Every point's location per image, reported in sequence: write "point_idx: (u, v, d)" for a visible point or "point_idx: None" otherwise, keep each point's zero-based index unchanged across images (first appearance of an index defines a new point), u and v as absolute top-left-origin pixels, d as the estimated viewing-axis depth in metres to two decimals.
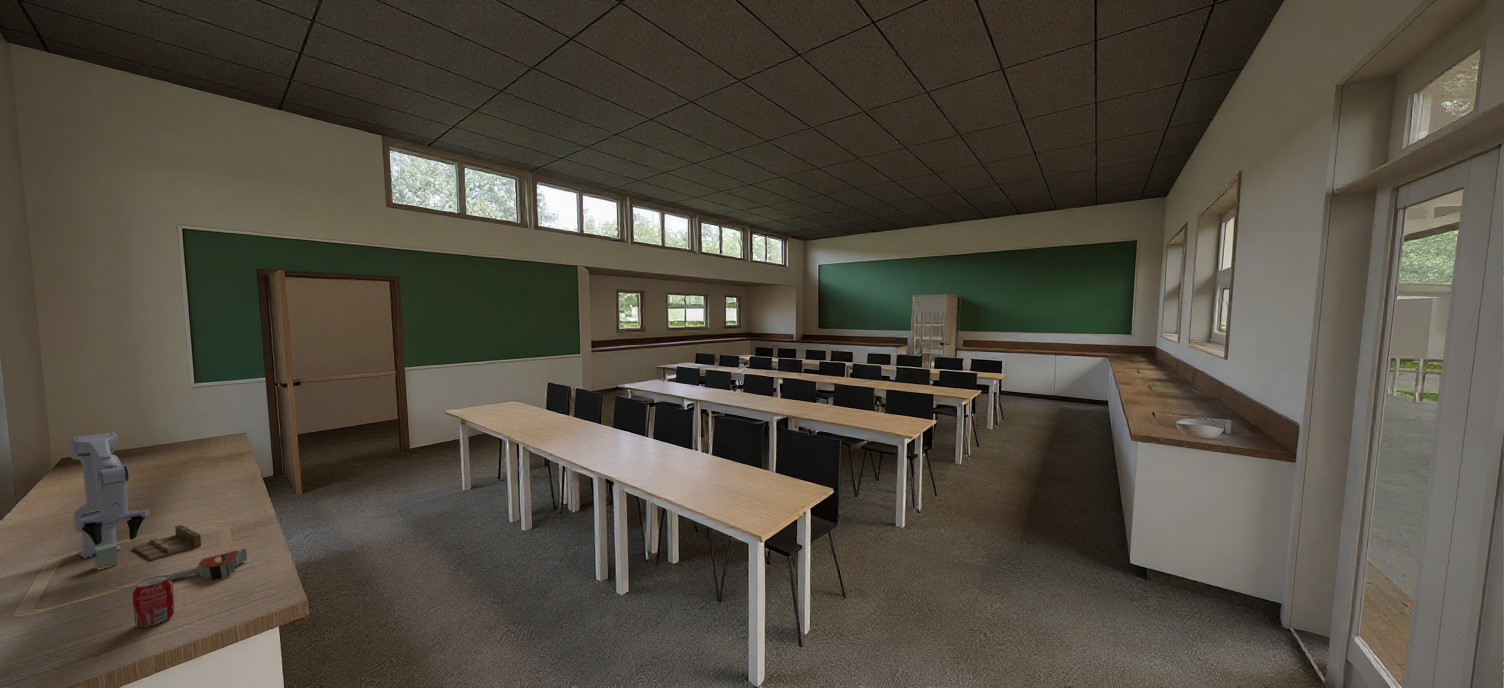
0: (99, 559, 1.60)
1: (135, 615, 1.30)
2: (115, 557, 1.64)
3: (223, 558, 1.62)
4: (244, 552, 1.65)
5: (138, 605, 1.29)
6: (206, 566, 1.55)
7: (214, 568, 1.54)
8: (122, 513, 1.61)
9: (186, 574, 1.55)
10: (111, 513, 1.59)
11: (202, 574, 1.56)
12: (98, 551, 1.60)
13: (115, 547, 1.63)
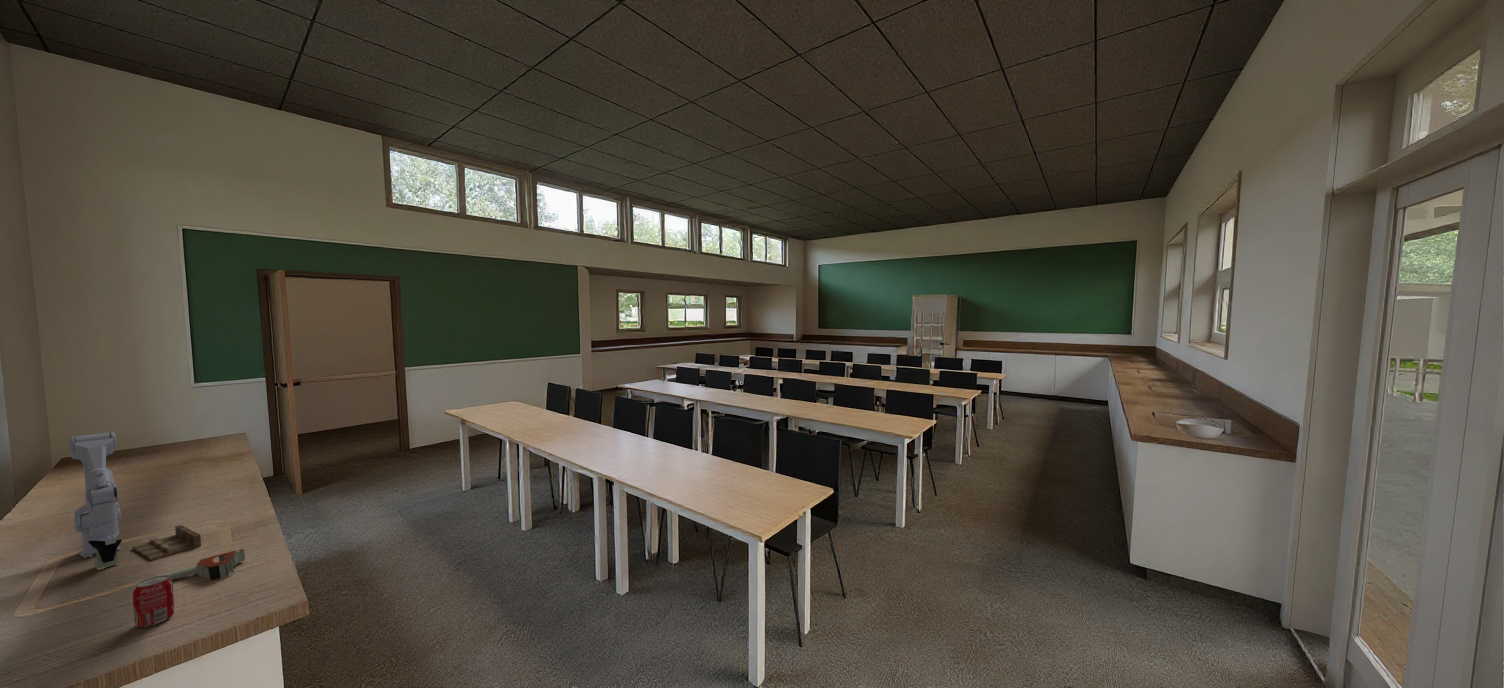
0: (99, 559, 1.60)
1: (135, 615, 1.30)
2: (115, 557, 1.64)
3: (221, 558, 1.62)
4: (242, 552, 1.65)
5: (138, 605, 1.29)
6: (204, 566, 1.55)
7: (213, 568, 1.54)
8: (98, 536, 1.60)
9: (184, 575, 1.55)
10: (90, 533, 1.60)
11: (200, 574, 1.56)
12: None
13: None
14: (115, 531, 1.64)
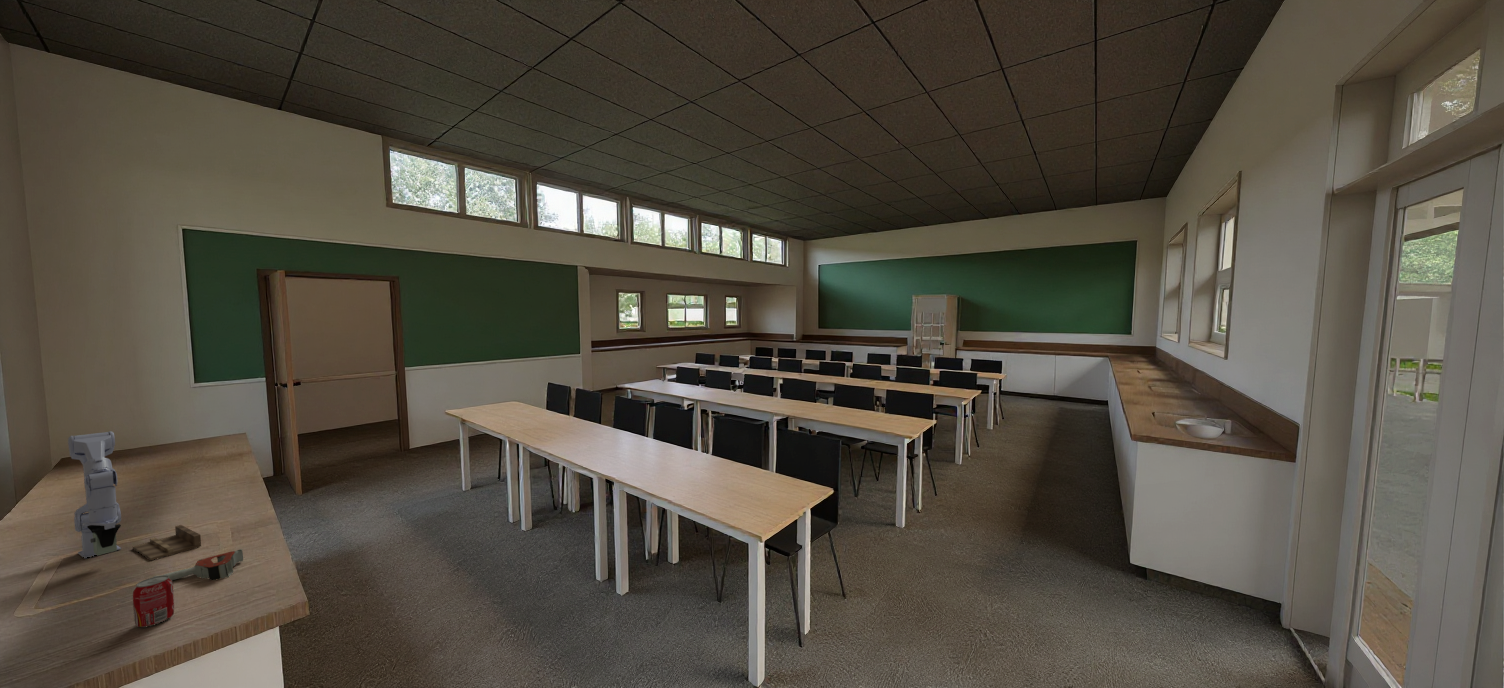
0: (98, 544, 1.60)
1: (135, 615, 1.30)
2: (114, 542, 1.63)
3: (219, 559, 1.62)
4: (240, 552, 1.65)
5: (138, 605, 1.29)
6: (204, 567, 1.55)
7: (213, 568, 1.54)
8: (97, 520, 1.60)
9: (182, 575, 1.55)
10: (89, 518, 1.60)
11: (199, 575, 1.56)
12: None
13: None
14: (114, 516, 1.63)
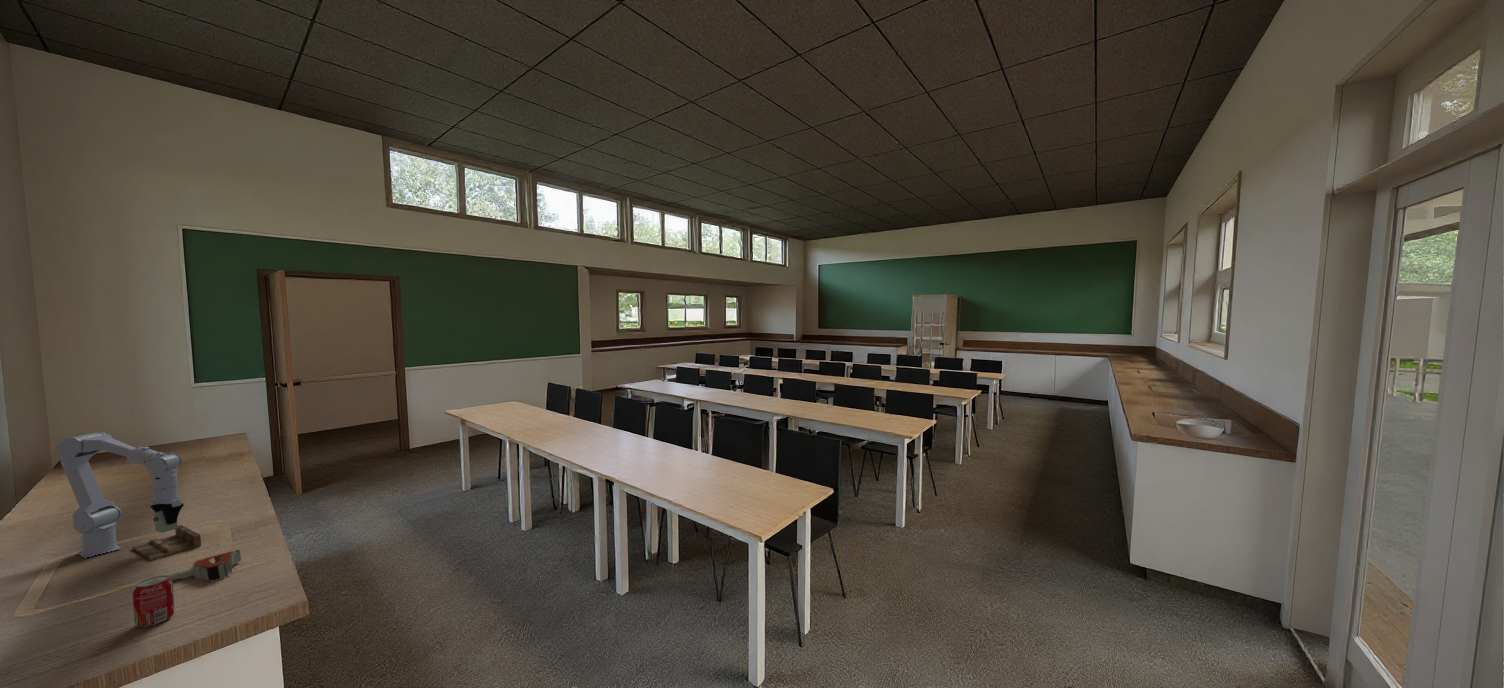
0: (162, 522, 1.74)
1: (135, 615, 1.30)
2: None
3: (217, 559, 1.61)
4: (238, 553, 1.65)
5: (138, 605, 1.29)
6: (202, 567, 1.55)
7: (212, 568, 1.54)
8: (163, 499, 1.74)
9: (180, 576, 1.54)
10: (155, 497, 1.73)
11: (197, 576, 1.56)
12: (161, 515, 1.74)
13: None
14: (177, 496, 1.77)
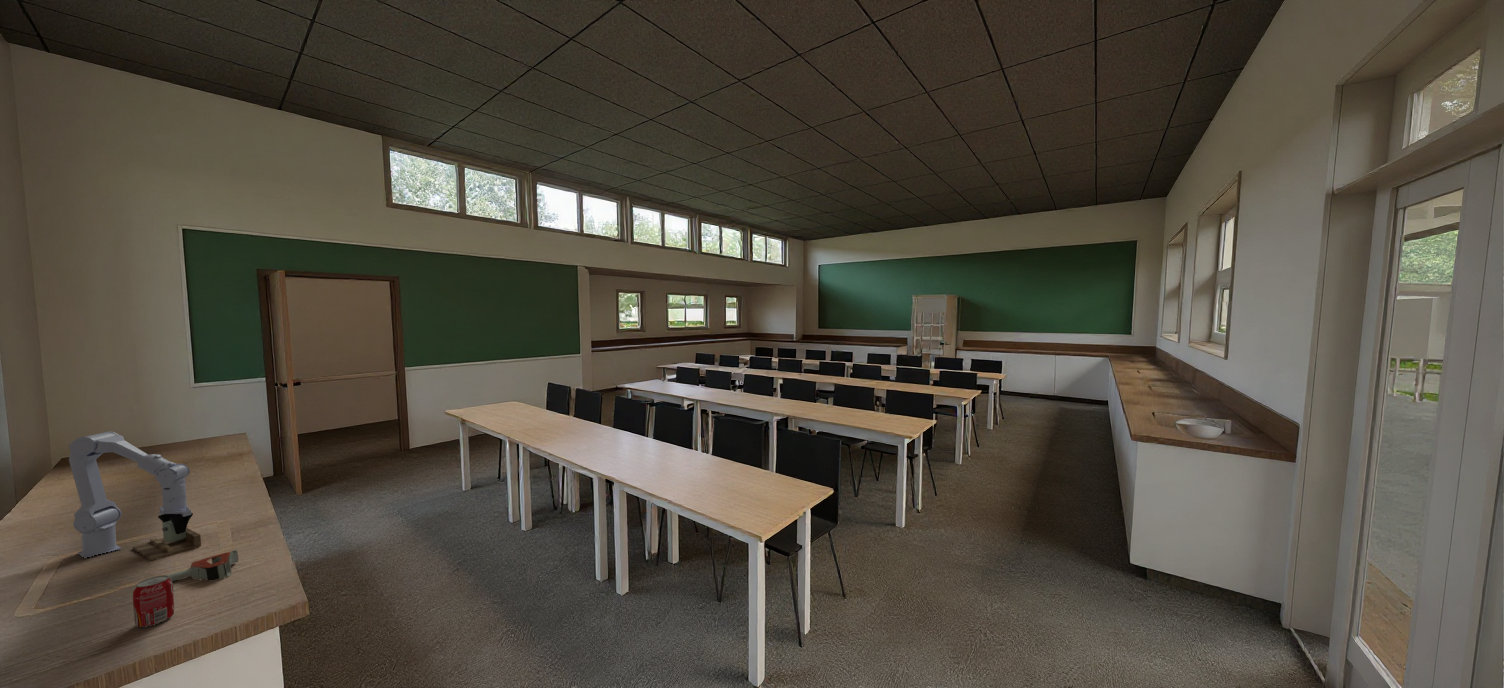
0: (171, 532, 1.76)
1: (135, 615, 1.30)
2: None
3: (214, 560, 1.61)
4: (236, 553, 1.65)
5: (138, 605, 1.29)
6: (201, 568, 1.54)
7: (211, 569, 1.54)
8: (173, 509, 1.76)
9: (177, 577, 1.54)
10: (164, 507, 1.75)
11: (195, 576, 1.55)
12: (170, 525, 1.76)
13: None
14: (185, 505, 1.80)
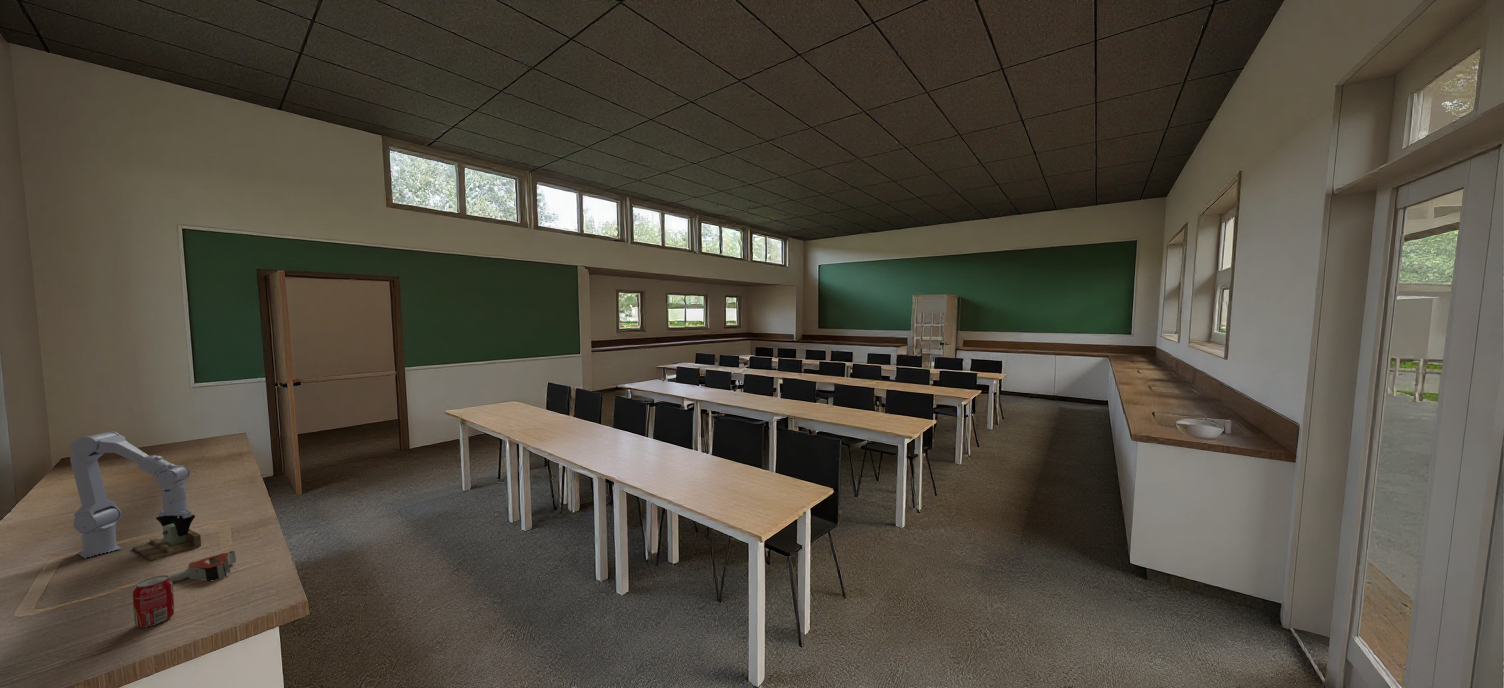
0: (172, 535, 1.76)
1: (135, 615, 1.30)
2: None
3: (212, 561, 1.60)
4: (233, 554, 1.64)
5: (138, 605, 1.29)
6: (200, 568, 1.54)
7: (211, 569, 1.54)
8: (173, 511, 1.76)
9: (175, 578, 1.53)
10: (164, 509, 1.75)
11: (193, 577, 1.55)
12: (171, 528, 1.76)
13: None
14: (185, 507, 1.80)
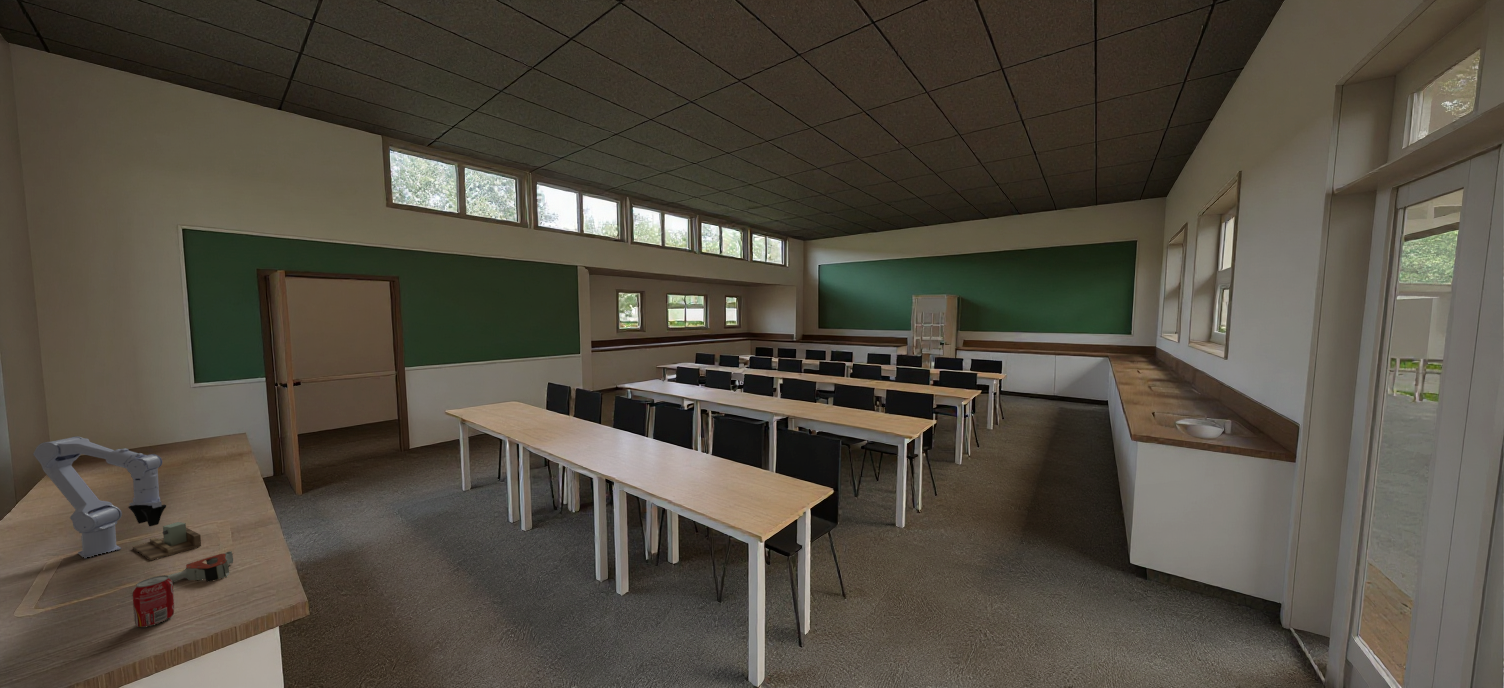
0: (172, 535, 1.76)
1: (135, 615, 1.30)
2: (184, 534, 1.79)
3: (209, 561, 1.60)
4: (231, 554, 1.64)
5: (138, 605, 1.29)
6: (198, 569, 1.54)
7: (210, 569, 1.54)
8: (143, 500, 1.73)
9: (173, 579, 1.52)
10: (135, 498, 1.72)
11: (192, 578, 1.54)
12: (171, 528, 1.76)
13: (184, 524, 1.79)
14: (157, 497, 1.76)
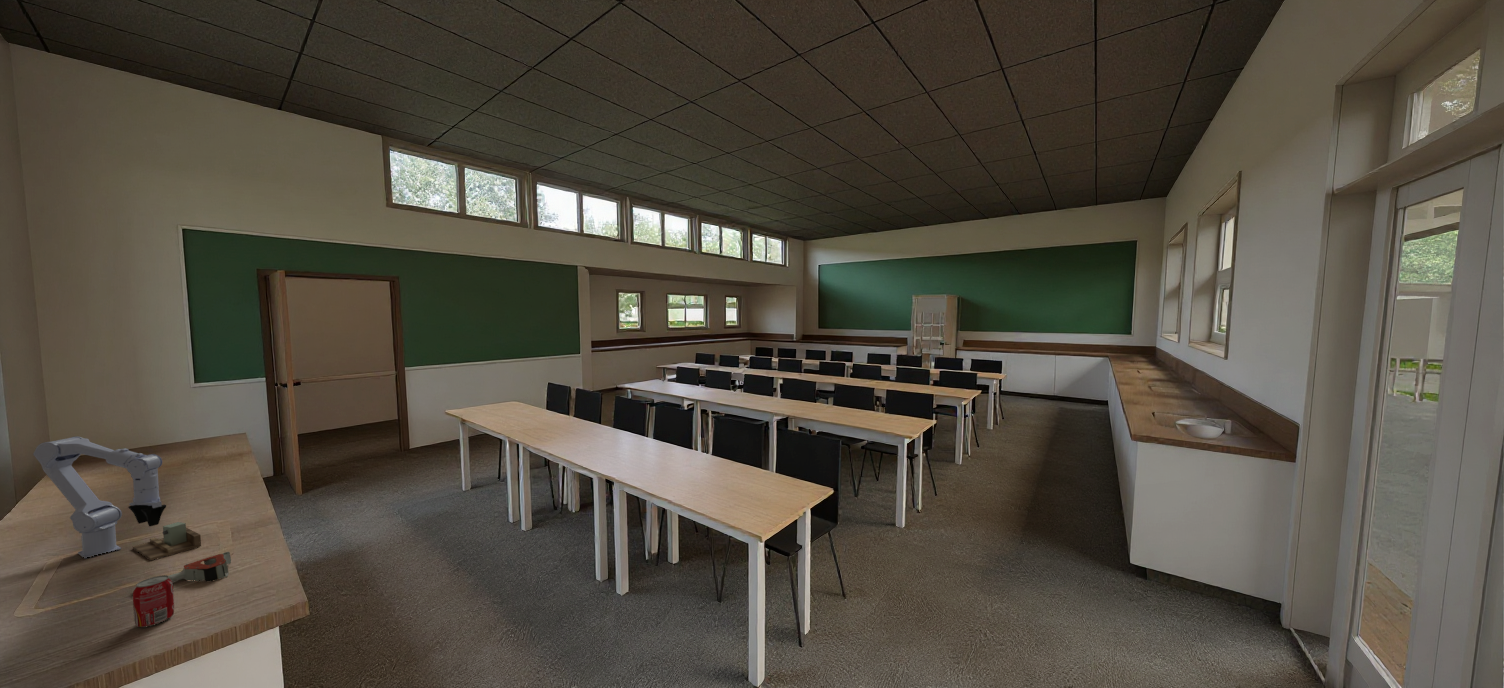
0: (172, 535, 1.76)
1: (135, 615, 1.30)
2: (184, 534, 1.79)
3: (207, 562, 1.59)
4: (228, 555, 1.64)
5: (138, 605, 1.29)
6: (197, 569, 1.53)
7: (210, 569, 1.53)
8: (143, 500, 1.73)
9: None
10: (135, 498, 1.72)
11: (190, 578, 1.54)
12: (171, 528, 1.76)
13: (184, 524, 1.79)
14: (157, 497, 1.76)
